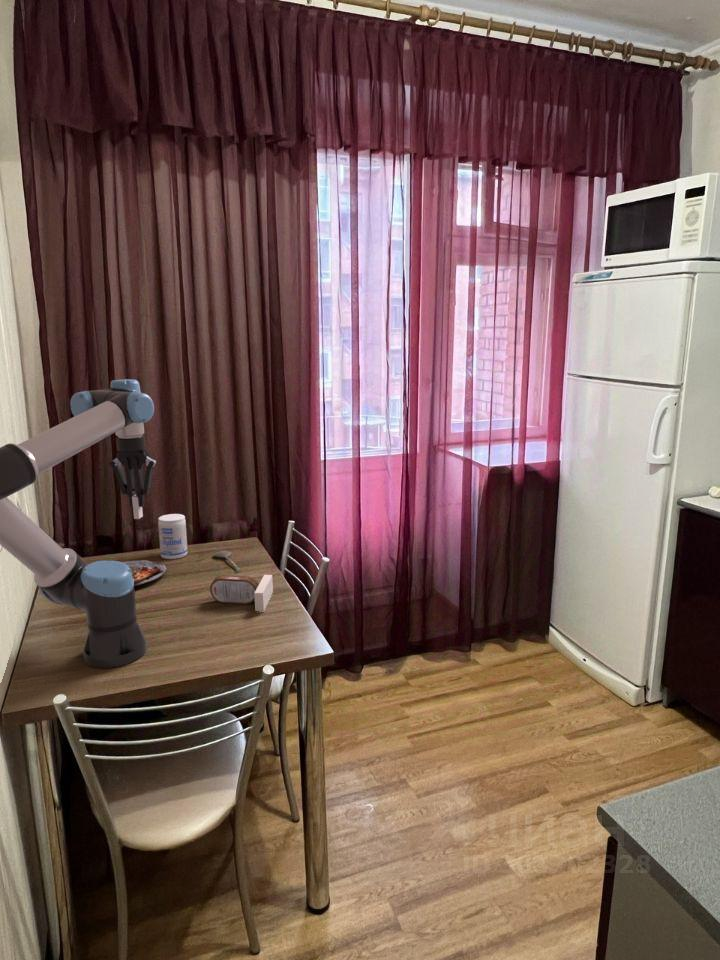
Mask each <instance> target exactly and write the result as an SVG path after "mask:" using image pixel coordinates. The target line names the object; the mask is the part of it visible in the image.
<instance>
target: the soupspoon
mask: <svg viewBox="0 0 720 960" xmlns="http://www.w3.org/2000/svg"><path fill="white" fill-rule="evenodd" d="M231 555H232V552H230V551H228V550H220V551H217V552H215V553H214V554H213V555H212V556H213V557H218V558H224V559H226V560H227V561H228V562H229V563H230V564H232V566H233V567H234V568H235V570H236V571H235V572H236V573H237V572H238V573H241V572H242V569H240V568H239V566H238V565H236V564H235V562H234V561H233V560H232V559H231V558H230V556H231ZM240 571H241V572H240Z"/></svg>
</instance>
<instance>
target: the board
mask: <svg viewBox="0 0 720 960" xmlns="http://www.w3.org/2000/svg"><path fill="white" fill-rule="evenodd" d="M273 580H274V579H273V574H263V576H262V578H261V580H260V582H259V583H258V584H259V585H258V587H257V589H256V591H255V593H254V596H255V601H254V608H255V609H254V610H255V611H257V612H256V613H264V612H265V611H266V609H267V607H268V605H269V603H270V601H269V600H271V599H270V598H272V596H273V594H274V584H273V582H274V581H273ZM272 593H273V594H272ZM271 595H272V596H271ZM268 602H269V603H268ZM267 604H268V605H267ZM266 606H267V607H266ZM265 608H266V609H265ZM264 610H265V611H264ZM258 611H259V612H258ZM263 611H264V612H263Z"/></svg>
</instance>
